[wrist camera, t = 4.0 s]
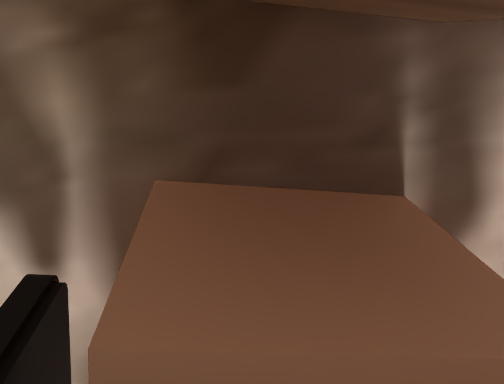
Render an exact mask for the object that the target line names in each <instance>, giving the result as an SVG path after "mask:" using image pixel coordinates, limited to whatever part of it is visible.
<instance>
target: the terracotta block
mask: <svg viewBox="0 0 504 384" xmlns="http://www.w3.org/2000/svg"><path fill="white" fill-rule="evenodd" d="M88 361H89V384H504V279H503V278H501V277H500V276H499V275H498V274H497V273H495V272H494V271H493V270H492V269H491V268H490V267H488V266H487V265H486V264H485V263H484V262H482V261H481V260H480V259H479V258H478V257H476V256H475V255H474V254H473V253H472V252H470V251H469V250H468V249H467V248H466V247H464V246H463V245H462V244H461V243H460V242H458V241H457V240H456V239H455V238H454V237H452V236H451V235H450V234H449V233H448V232H447V231H445V230H444V229H443V228H442V227H441V226H439V225H438V224H437V223H436V222H435V221H433V220H432V219H431V218H430V217H429V216H427V215H426V214H425V213H424V212H423V211H421V210H420V209H419V208H418V207H417V206H415V205H414V204H413V203H412V202H411V201H409V200H408V199H407V198H406V197H405V196H394V195H378V194H363V193H347V192H332V191H317V190H301V189H286V188H271V187H255V186H240V185H224V184H209V183H194V182H178V181H163V180H155V181H154V184H153V186H152V189H151V192H150V194H149V197H148V199H147V202H146V204H145V207H144V209H143V212H142V214H141V217H140V219H139V222H138V224H137V227H136V230H135V232H134V235H133V237H132V240H131V242H130V245H129V247H128V250H127V252H126V255H125V257H124V260H123V262H122V265H121V267H120V270H119V273H118V275H117V278H116V280H115V283H114V285H113V288H112V290H111V293H110V295H109V298H108V300H107V303H106V305H105V308H104V310H103V313H102V316H101V318H100V321H99V323H98V326H97V328H96V331H95V333H94V336H93V338H92V341H91V343H90V346H89V348H88Z"/></svg>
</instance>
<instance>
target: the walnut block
mask: <svg viewBox="0 0 504 384" xmlns="http://www.w3.org/2000/svg"><path fill="white" fill-rule="evenodd" d="M245 1H254V2H263V3H272V4H281V5H290V6H299V7H308V8H317V9H326V10H335V11H345V12H354V13H363V14H372V15H381V16H390V17H399V18H408V19H417V20H426V21H435V22H456V21H473V20H489V19H504V0H245Z"/></svg>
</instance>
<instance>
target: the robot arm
mask: <svg viewBox="0 0 504 384" xmlns="http://www.w3.org/2000/svg"><path fill="white" fill-rule="evenodd" d="M0 384H71V362H70V336H69V310H68V288H67V284H66V283H60V282H59V280H58V277H57V276H56V275H37V274H27V275H26V276H25V277H24V278H23V279H22V280H21V282H20V283H19V284H18V286H17V287H16V288H15V289H14V291H13V292H12V293H11V294H10V296H9V297H8V298H7V300H6V301H5V302H4V303H3V305H2V306H1V307H0Z"/></svg>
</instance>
